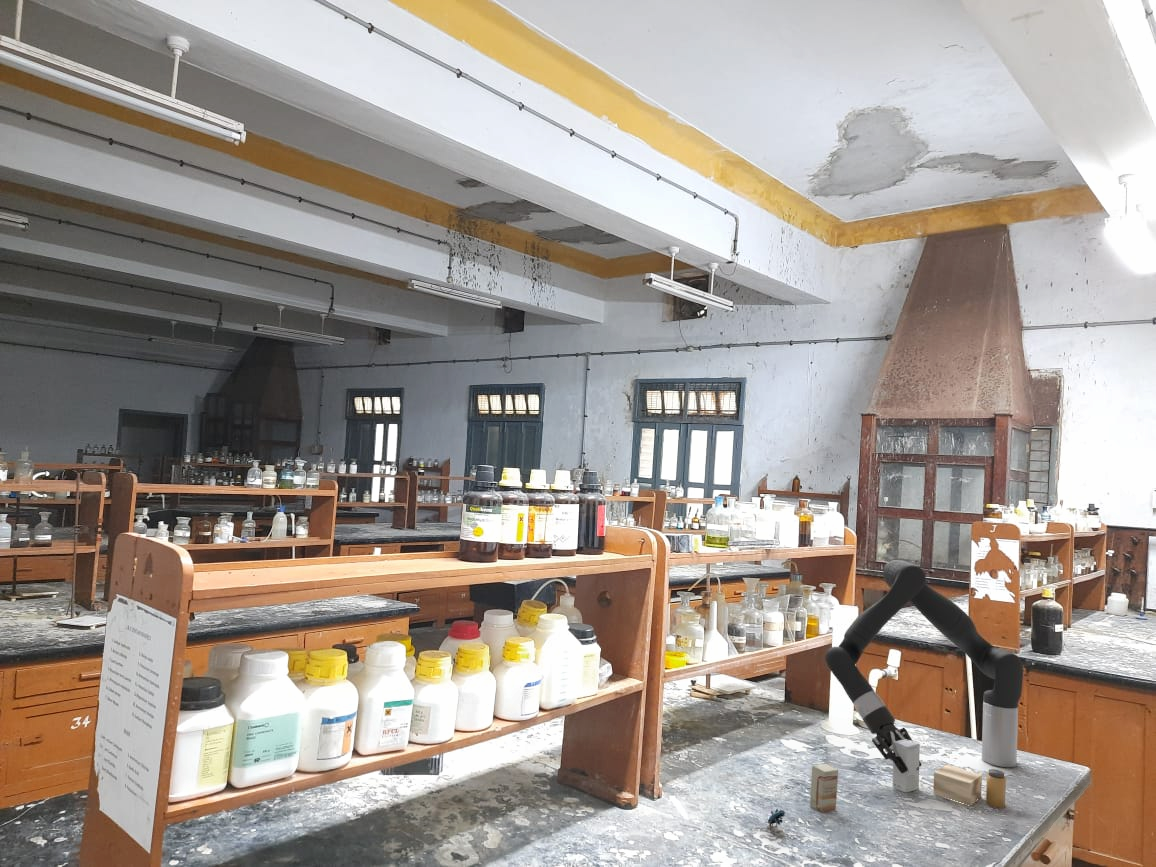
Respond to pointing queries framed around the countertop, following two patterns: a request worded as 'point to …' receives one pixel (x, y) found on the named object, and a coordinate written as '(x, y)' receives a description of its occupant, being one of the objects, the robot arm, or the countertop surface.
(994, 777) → the amber jar
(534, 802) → the countertop surface
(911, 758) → the skincare box
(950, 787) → the beech block
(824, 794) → the skincare box
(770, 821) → the sculpture
